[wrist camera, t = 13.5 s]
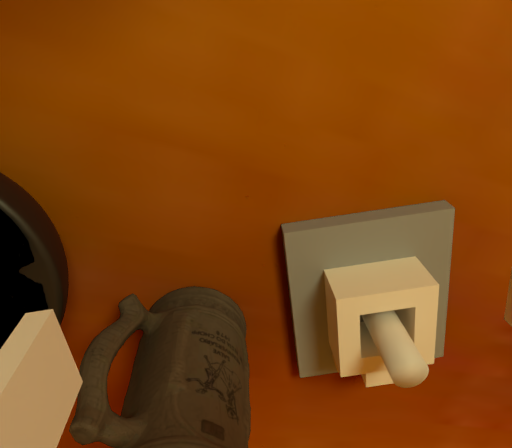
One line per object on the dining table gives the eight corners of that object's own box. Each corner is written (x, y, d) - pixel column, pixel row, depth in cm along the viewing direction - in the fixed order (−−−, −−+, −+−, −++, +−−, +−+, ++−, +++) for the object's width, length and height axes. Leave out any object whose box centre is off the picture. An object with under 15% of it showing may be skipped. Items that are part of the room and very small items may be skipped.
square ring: (323, 269, 41) (336, 299, 36) (415, 256, 41) (439, 284, 36) (330, 370, 46) (342, 407, 42) (411, 358, 46) (431, 393, 42)
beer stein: (271, 321, 45) (287, 508, 27) (212, 383, 49) (190, 588, 30) (151, 242, 42) (73, 395, 23) (95, 314, 45) (-13, 500, 26)
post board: (281, 224, 41) (301, 295, 30) (444, 200, 41) (524, 262, 30) (297, 364, 48) (318, 462, 37) (434, 344, 48) (495, 435, 38)
